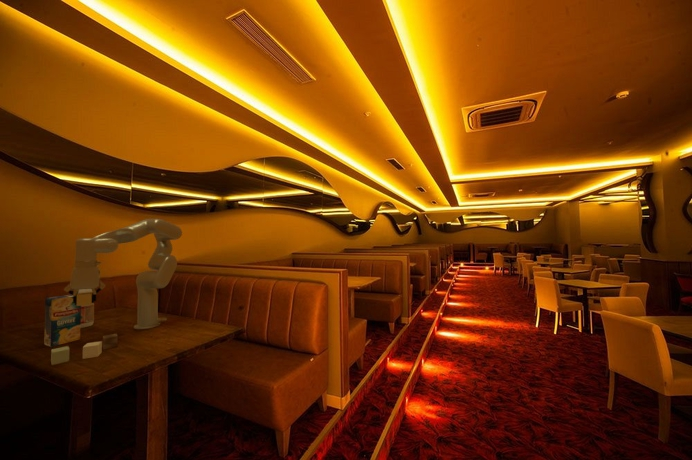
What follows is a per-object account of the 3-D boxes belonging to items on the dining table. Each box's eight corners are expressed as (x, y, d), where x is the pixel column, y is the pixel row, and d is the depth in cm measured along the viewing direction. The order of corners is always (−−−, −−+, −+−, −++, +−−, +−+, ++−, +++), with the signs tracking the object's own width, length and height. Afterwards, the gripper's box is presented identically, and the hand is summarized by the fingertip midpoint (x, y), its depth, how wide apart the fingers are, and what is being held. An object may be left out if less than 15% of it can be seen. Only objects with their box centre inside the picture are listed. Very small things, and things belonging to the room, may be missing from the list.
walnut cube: (116, 343, 136) (116, 333, 136) (117, 346, 132) (117, 335, 132) (102, 346, 132) (102, 335, 133) (103, 349, 129) (103, 338, 129)
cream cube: (101, 352, 125) (101, 341, 126) (97, 356, 121) (98, 345, 121) (87, 354, 123) (87, 343, 123) (82, 359, 119) (82, 347, 119)
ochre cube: (93, 302, 136) (93, 292, 136) (91, 304, 132) (91, 293, 132) (78, 303, 133) (79, 293, 133) (76, 306, 129) (76, 295, 129)
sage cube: (67, 357, 120) (68, 345, 120) (69, 361, 117) (69, 349, 117) (50, 361, 116) (51, 349, 116) (51, 365, 113) (52, 352, 113)
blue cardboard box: (80, 339, 142) (81, 295, 143) (50, 346, 132) (51, 299, 133) (73, 337, 145) (74, 294, 146) (43, 344, 135) (45, 298, 136)
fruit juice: (95, 325, 164) (96, 277, 165) (72, 329, 157) (74, 279, 157) (91, 322, 170) (92, 276, 171) (70, 326, 163) (71, 277, 163)
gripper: (110, 263, 141) (109, 299, 140) (62, 265, 131) (61, 304, 131) (108, 264, 135) (107, 302, 134) (58, 266, 125) (57, 307, 124)
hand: (85, 303), depth 132 cm, fingers closed on ochre cube, 5 cm apart
